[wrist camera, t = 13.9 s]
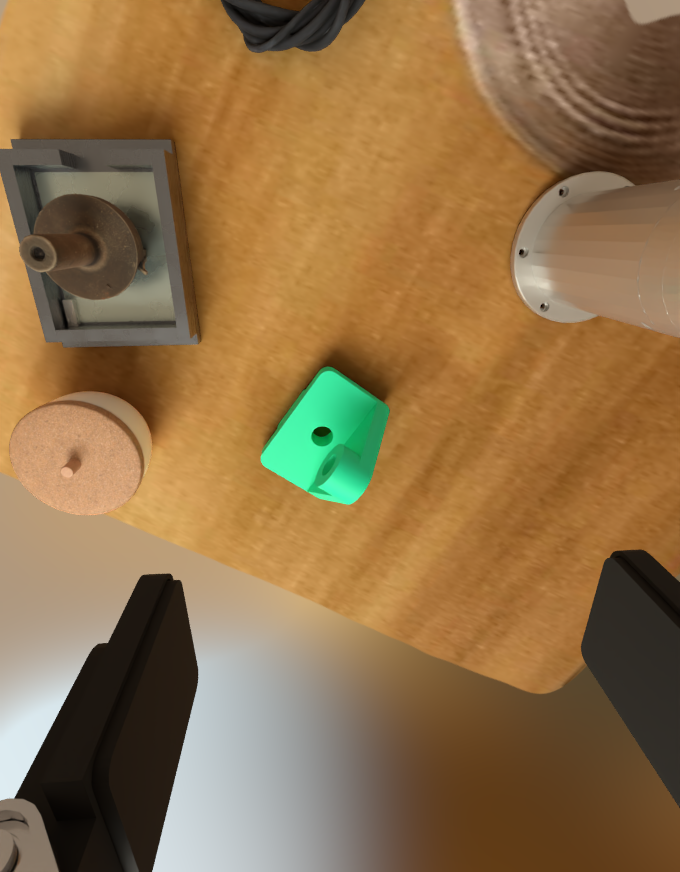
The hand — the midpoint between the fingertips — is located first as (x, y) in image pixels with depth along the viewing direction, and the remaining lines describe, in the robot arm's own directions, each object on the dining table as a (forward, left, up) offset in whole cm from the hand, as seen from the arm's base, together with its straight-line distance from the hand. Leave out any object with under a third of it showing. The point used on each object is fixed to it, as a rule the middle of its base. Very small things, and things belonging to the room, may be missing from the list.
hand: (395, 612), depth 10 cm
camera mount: (+1, +11, -37) cm, 38 cm away
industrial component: (+17, -6, -35) cm, 40 cm away
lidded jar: (+22, +10, -37) cm, 44 cm away
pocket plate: (+18, -6, -36) cm, 41 cm away
